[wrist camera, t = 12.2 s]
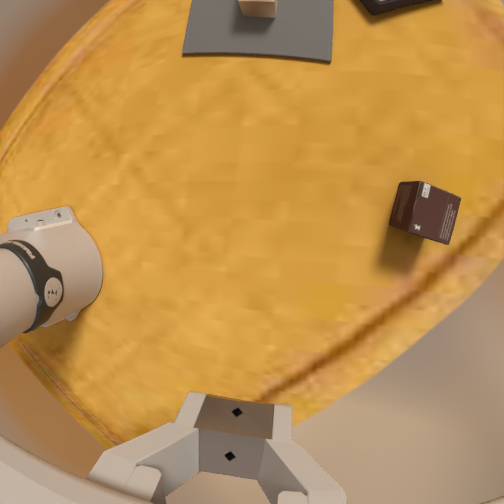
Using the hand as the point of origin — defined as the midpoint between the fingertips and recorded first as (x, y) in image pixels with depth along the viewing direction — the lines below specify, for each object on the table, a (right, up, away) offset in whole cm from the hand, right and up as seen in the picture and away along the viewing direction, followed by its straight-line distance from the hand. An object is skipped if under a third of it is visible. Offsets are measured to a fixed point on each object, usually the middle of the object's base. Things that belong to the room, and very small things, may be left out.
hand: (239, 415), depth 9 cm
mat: (+2, +38, +27) cm, 47 cm away
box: (+22, +11, +31) cm, 39 cm away
